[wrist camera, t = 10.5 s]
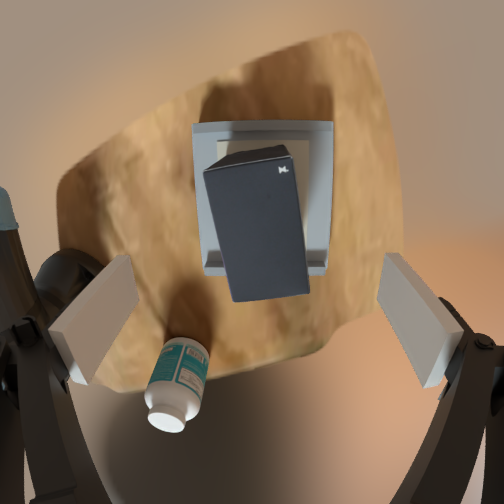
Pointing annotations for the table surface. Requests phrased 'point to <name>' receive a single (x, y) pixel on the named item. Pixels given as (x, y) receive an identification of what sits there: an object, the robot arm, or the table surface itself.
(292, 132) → the dock
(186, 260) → the table surface
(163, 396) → the pill bottle
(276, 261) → the small box
